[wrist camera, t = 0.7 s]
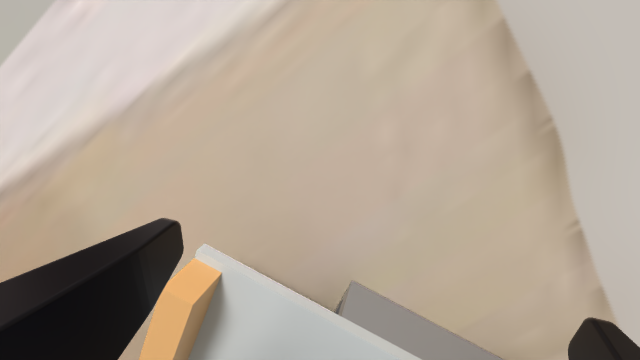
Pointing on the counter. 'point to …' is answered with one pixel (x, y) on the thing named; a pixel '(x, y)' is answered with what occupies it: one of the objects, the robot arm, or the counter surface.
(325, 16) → the counter surface
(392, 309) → the duct
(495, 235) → the counter surface
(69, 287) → the robot arm
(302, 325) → the cover
